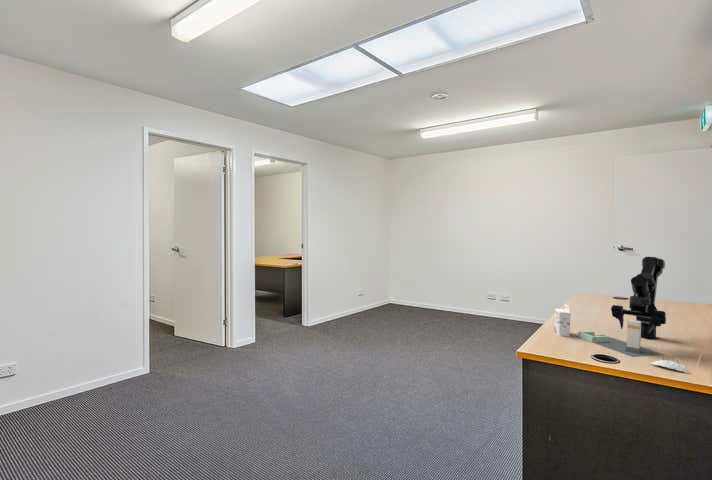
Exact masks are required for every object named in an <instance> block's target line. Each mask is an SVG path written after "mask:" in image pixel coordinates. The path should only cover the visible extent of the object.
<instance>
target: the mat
mask: <svg viewBox="0 0 712 480" xmlns="http://www.w3.org/2000/svg"><path fill="white" fill-rule="evenodd" d="M597 336H606V335H605V334H599V335H598V334H597ZM574 337H575V338H578V339H580V340H583V341H587V342H589V343H592V344H595V345H598V346H601V347H603V348H607V349H608V350H612V351H615V352H618V353H621V354H624V355H626V356H629V357H631V358H639V357H651V356H652V357H653V356H666V355H665V353H661V352H658V351H656V350H652V349H650V348H649V349H648V348H645V347H642V346H641V352H640V353H639V354H638V353H633V352H627V351H626V346H627V341H624V340H620V339H617V338H615V337H611V336H609V342H597V343H593V342H590V341H588V340H585V339H582V338H579V337H578V336H577V335H575V336H574Z"/></svg>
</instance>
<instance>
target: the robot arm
mask: <svg viewBox="0 0 712 480" xmlns="http://www.w3.org/2000/svg"><path fill="white" fill-rule="evenodd" d="M665 266H666V261H665V260H664V259H662V258H659V257H656V256H645V257H643V258H642V261H641V267H642V268H641V271H640V273H638V274H637V275H635V276H633V277H632V278H631V279H630V284H631V290H632V292H633V295H630V297H629V305H628V306H629V309H628V308H627V309H624V306H623V305H617V304H616V305H615V304H613V305H611V307H610V312H611V315H612V317H613V318H615V319H617V320H618V322H619V325H620V329H621V330H623V328H624V321H625V320H624V316H625V315H629V316H634V317H635V318H636V319H635V321H641V338H643V339H645V340H655V339H656V340H657V339H660V337H659V336H657V327H661V326H662V325H666V323H667V314H666V313H667V312H666V311H665V310H659V309H658V308H657V307H656V305H655V304H656V297H657V296H656V295H657V288H658V287H657V285H658V280H659V277H660V276H661V275H662V274H663V271H664V269H665V268H666V267H665Z"/></svg>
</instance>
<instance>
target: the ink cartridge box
mask: <svg viewBox="0 0 712 480" xmlns="http://www.w3.org/2000/svg"><path fill="white" fill-rule="evenodd" d="M553 330H554V331H553V332H554V333H556V335H557V336H559V337H571V306H570V305H568V304H567V303H564V308H554V326H553Z"/></svg>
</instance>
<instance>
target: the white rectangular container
mask: <svg viewBox="0 0 712 480" xmlns="http://www.w3.org/2000/svg"><path fill="white" fill-rule="evenodd" d="M626 335H627V336H626V337H627V338H626V342H627V346H626V351H627V352H633V353H638V354H639V353H640V352H641V347H642V345H641V341H642V339H641V338H642V337H641V321H636V319H635V320H634V319H628V320H627V333H626Z"/></svg>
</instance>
